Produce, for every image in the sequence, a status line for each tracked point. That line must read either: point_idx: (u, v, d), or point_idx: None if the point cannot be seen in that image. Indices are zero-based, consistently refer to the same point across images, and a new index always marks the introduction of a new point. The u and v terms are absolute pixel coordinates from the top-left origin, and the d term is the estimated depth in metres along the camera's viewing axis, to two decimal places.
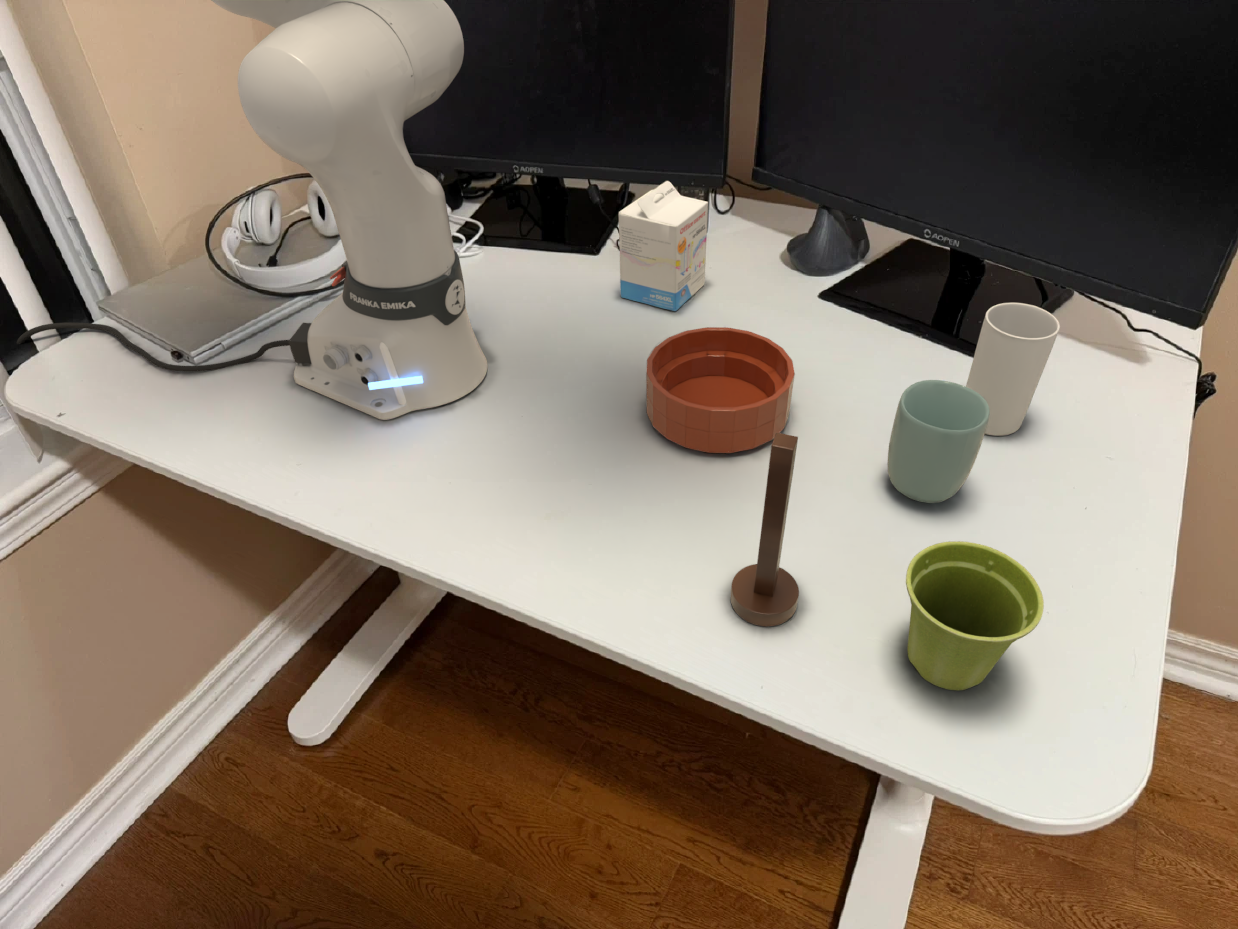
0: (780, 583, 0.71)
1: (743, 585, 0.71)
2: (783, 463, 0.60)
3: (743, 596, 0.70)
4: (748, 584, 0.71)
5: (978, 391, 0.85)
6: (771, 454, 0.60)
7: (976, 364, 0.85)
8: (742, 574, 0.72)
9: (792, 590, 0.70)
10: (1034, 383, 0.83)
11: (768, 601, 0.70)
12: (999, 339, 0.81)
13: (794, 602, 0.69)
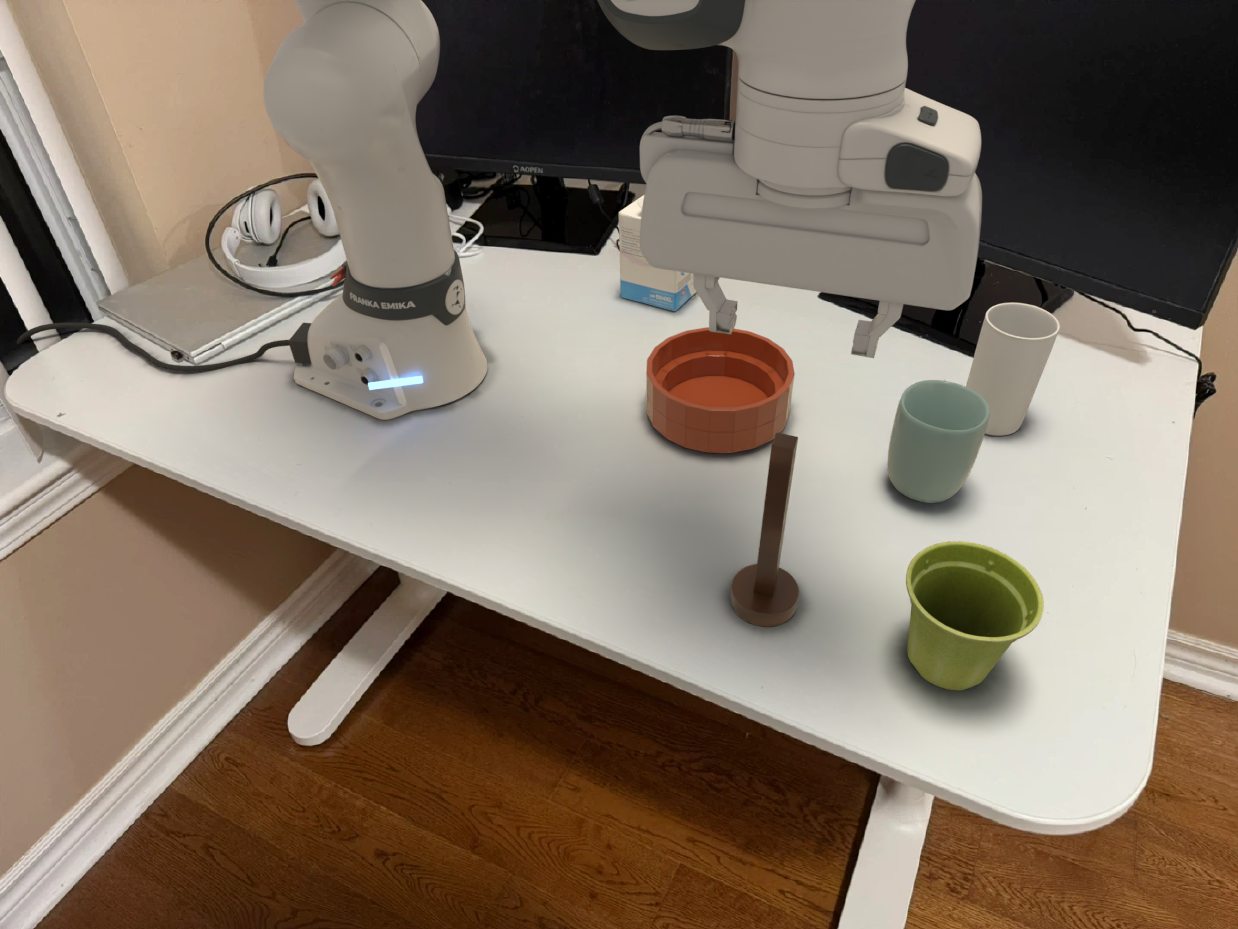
0: (780, 583, 0.71)
1: (743, 585, 0.71)
2: (783, 463, 0.60)
3: (743, 596, 0.70)
4: (748, 584, 0.71)
5: (978, 391, 0.85)
6: (771, 454, 0.60)
7: (976, 364, 0.85)
8: (742, 574, 0.72)
9: (792, 590, 0.70)
10: (1034, 383, 0.83)
11: (768, 601, 0.70)
12: (999, 339, 0.81)
13: (794, 602, 0.69)
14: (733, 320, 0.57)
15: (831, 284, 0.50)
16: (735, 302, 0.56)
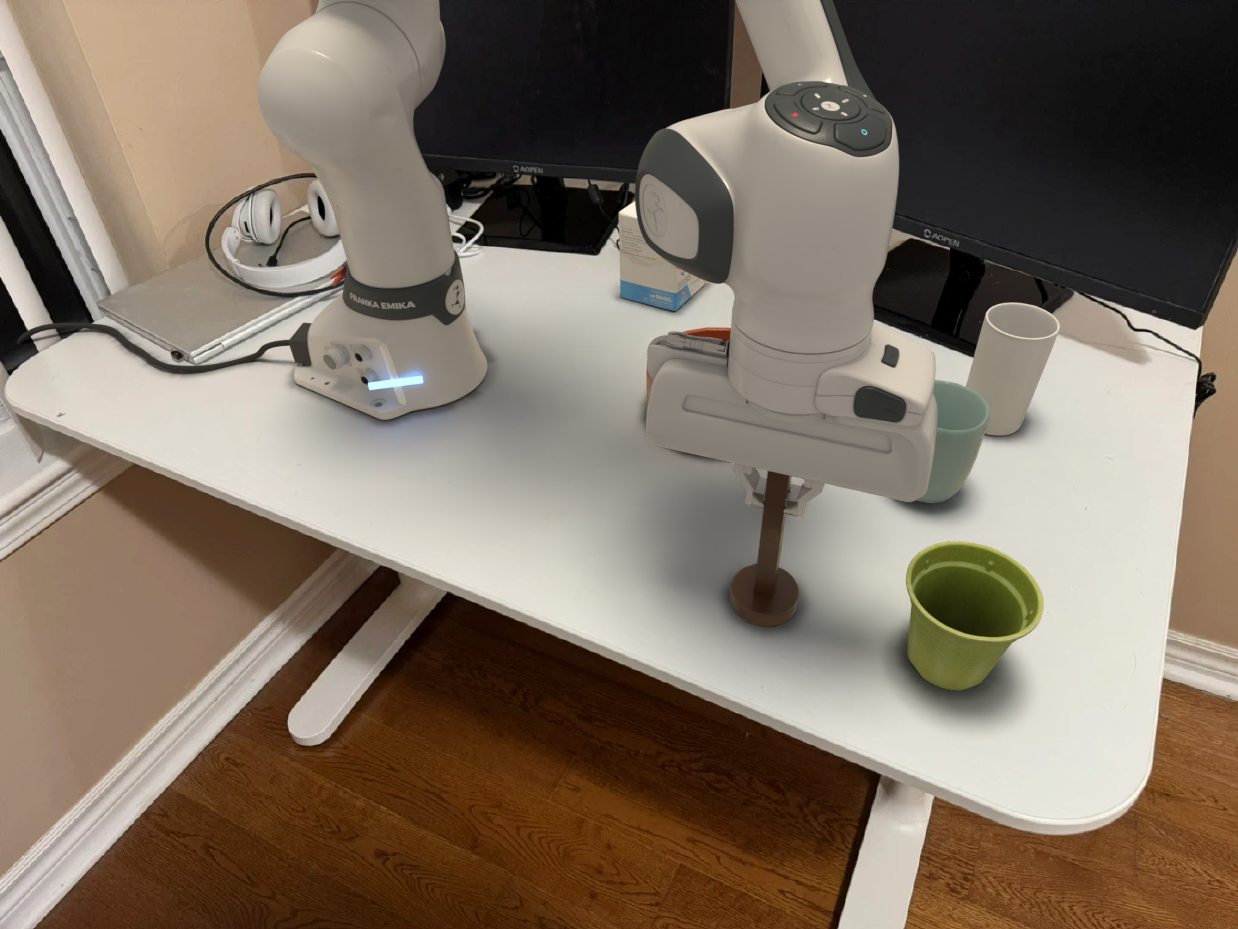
0: (780, 583, 0.71)
1: (743, 585, 0.71)
2: None
3: (743, 596, 0.70)
4: (748, 584, 0.71)
5: (978, 391, 0.85)
6: None
7: (976, 364, 0.85)
8: (742, 574, 0.72)
9: (792, 590, 0.70)
10: (1034, 383, 0.83)
11: (768, 601, 0.70)
12: (999, 339, 0.81)
13: (794, 602, 0.69)
14: None
15: (809, 474, 0.59)
16: None
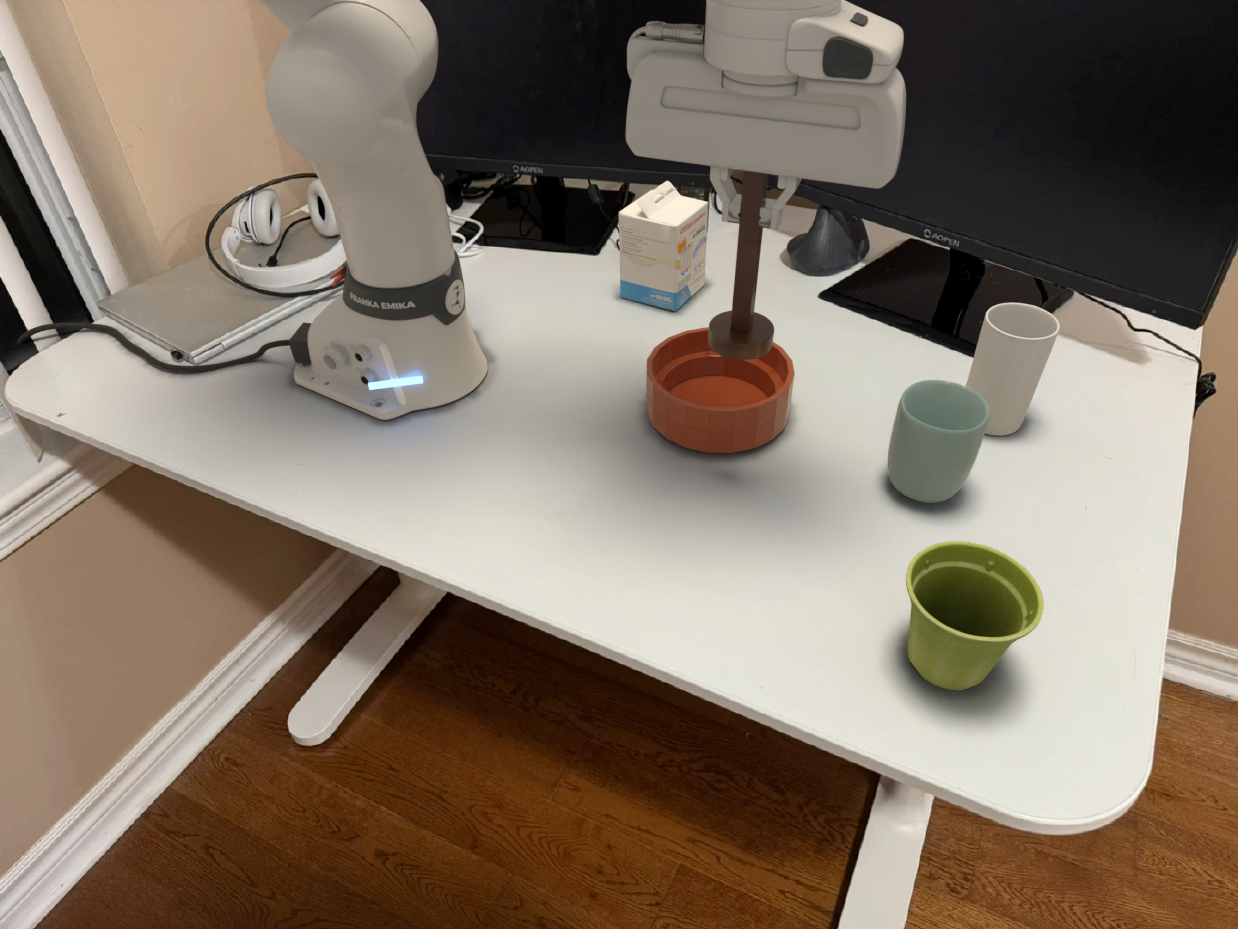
0: (756, 323, 0.73)
1: (720, 324, 0.73)
2: None
3: (720, 332, 0.72)
4: (725, 323, 0.73)
5: (978, 391, 0.85)
6: None
7: (976, 364, 0.85)
8: (720, 317, 0.74)
9: (768, 328, 0.72)
10: (1034, 383, 0.83)
11: (744, 335, 0.72)
12: (999, 339, 0.81)
13: (769, 336, 0.71)
14: None
15: (782, 167, 0.61)
16: None
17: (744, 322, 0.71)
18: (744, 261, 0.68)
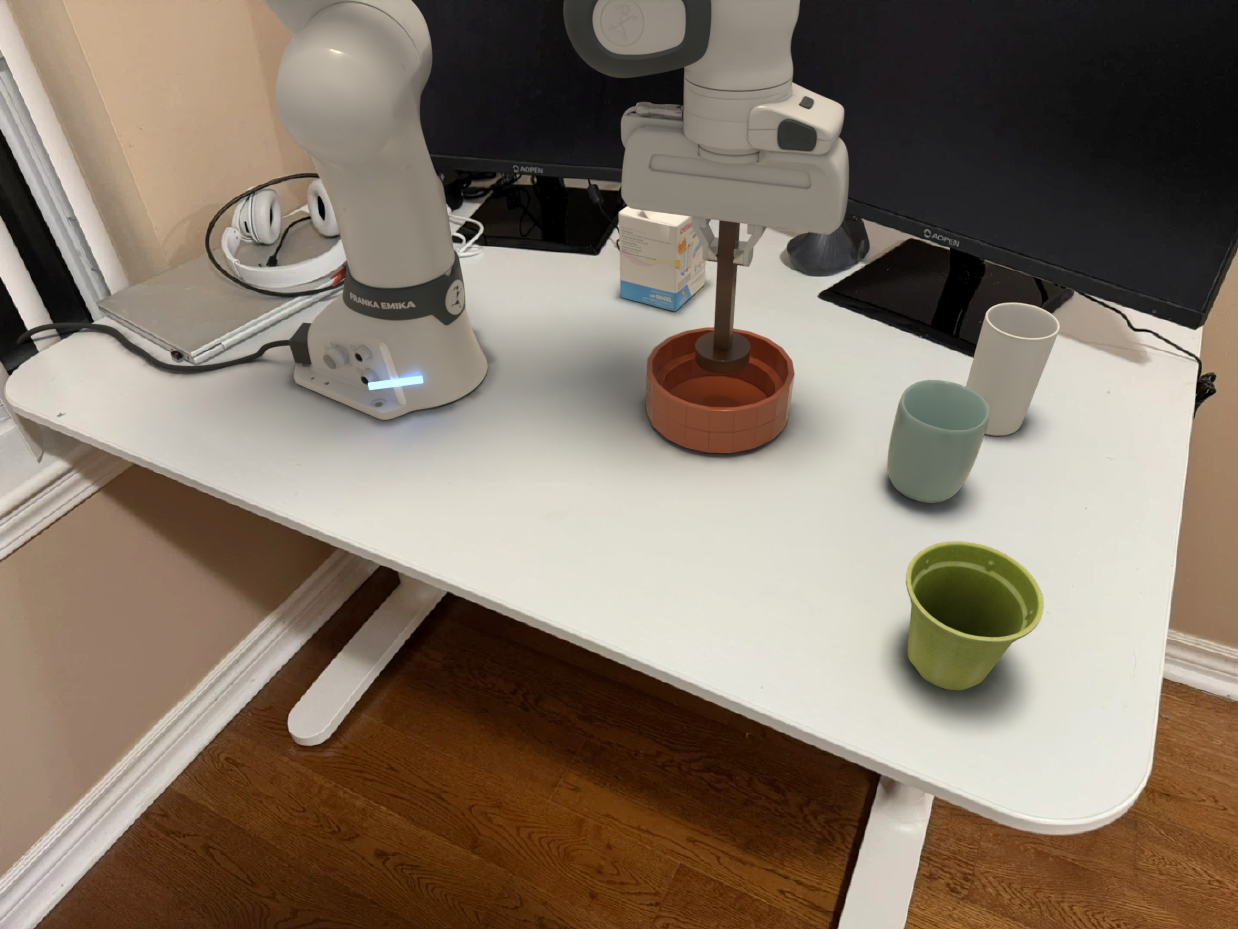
0: (735, 342, 0.86)
1: (705, 344, 0.86)
2: None
3: (704, 351, 0.85)
4: (709, 343, 0.86)
5: (978, 391, 0.85)
6: None
7: (976, 364, 0.85)
8: (704, 337, 0.87)
9: (745, 346, 0.86)
10: (1034, 383, 0.83)
11: (725, 353, 0.85)
12: (999, 339, 0.81)
13: (746, 353, 0.85)
14: None
15: (750, 217, 0.74)
16: None
17: (724, 342, 0.85)
18: (722, 292, 0.81)
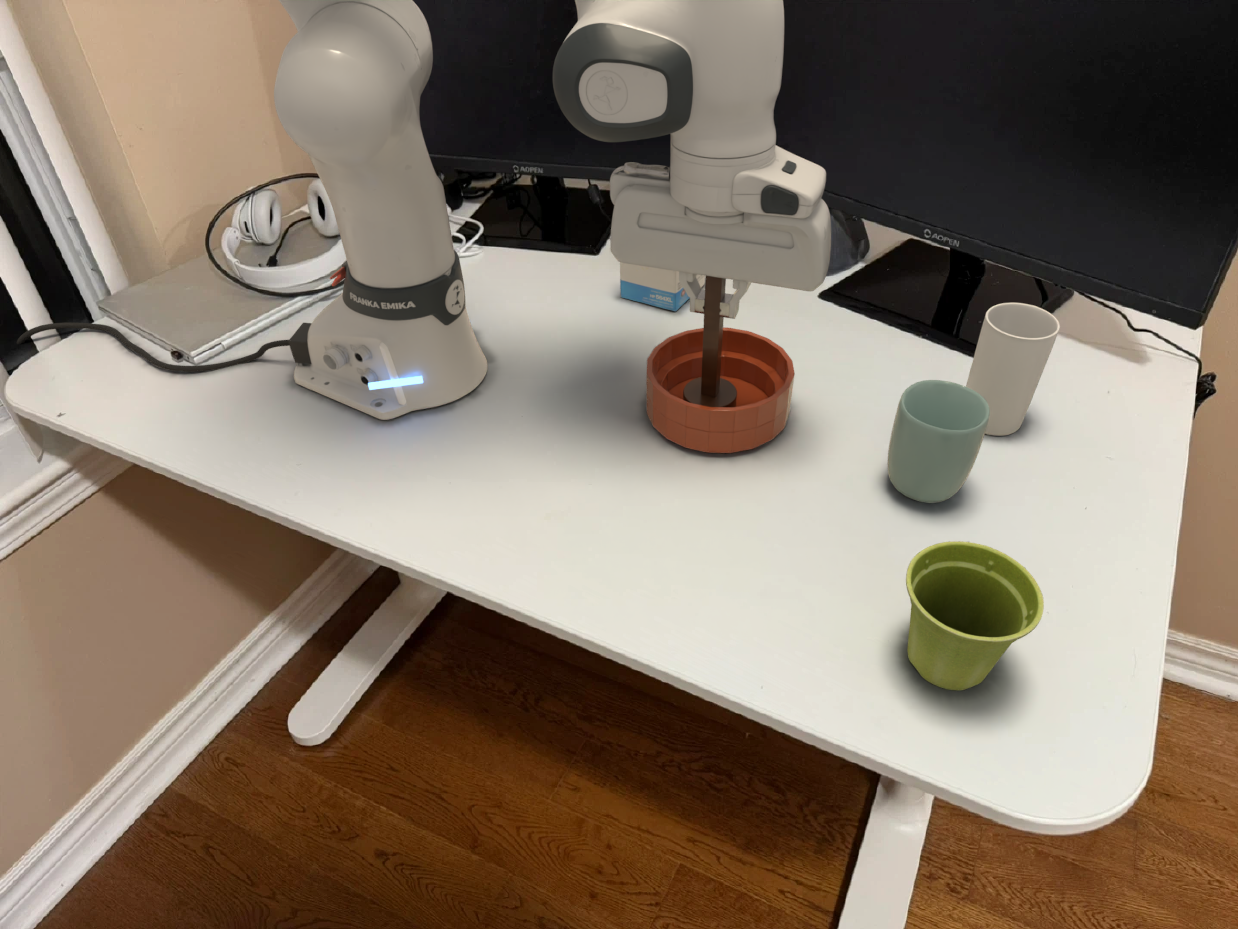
0: (722, 388, 0.88)
1: (692, 389, 0.88)
2: None
3: (692, 397, 0.87)
4: (697, 389, 0.89)
5: (978, 391, 0.85)
6: None
7: (976, 364, 0.85)
8: (692, 383, 0.89)
9: (731, 392, 0.88)
10: (1034, 383, 0.83)
11: (712, 399, 0.87)
12: (999, 339, 0.81)
13: (732, 400, 0.87)
14: None
15: (735, 274, 0.76)
16: None
17: (712, 389, 0.87)
18: (709, 342, 0.83)
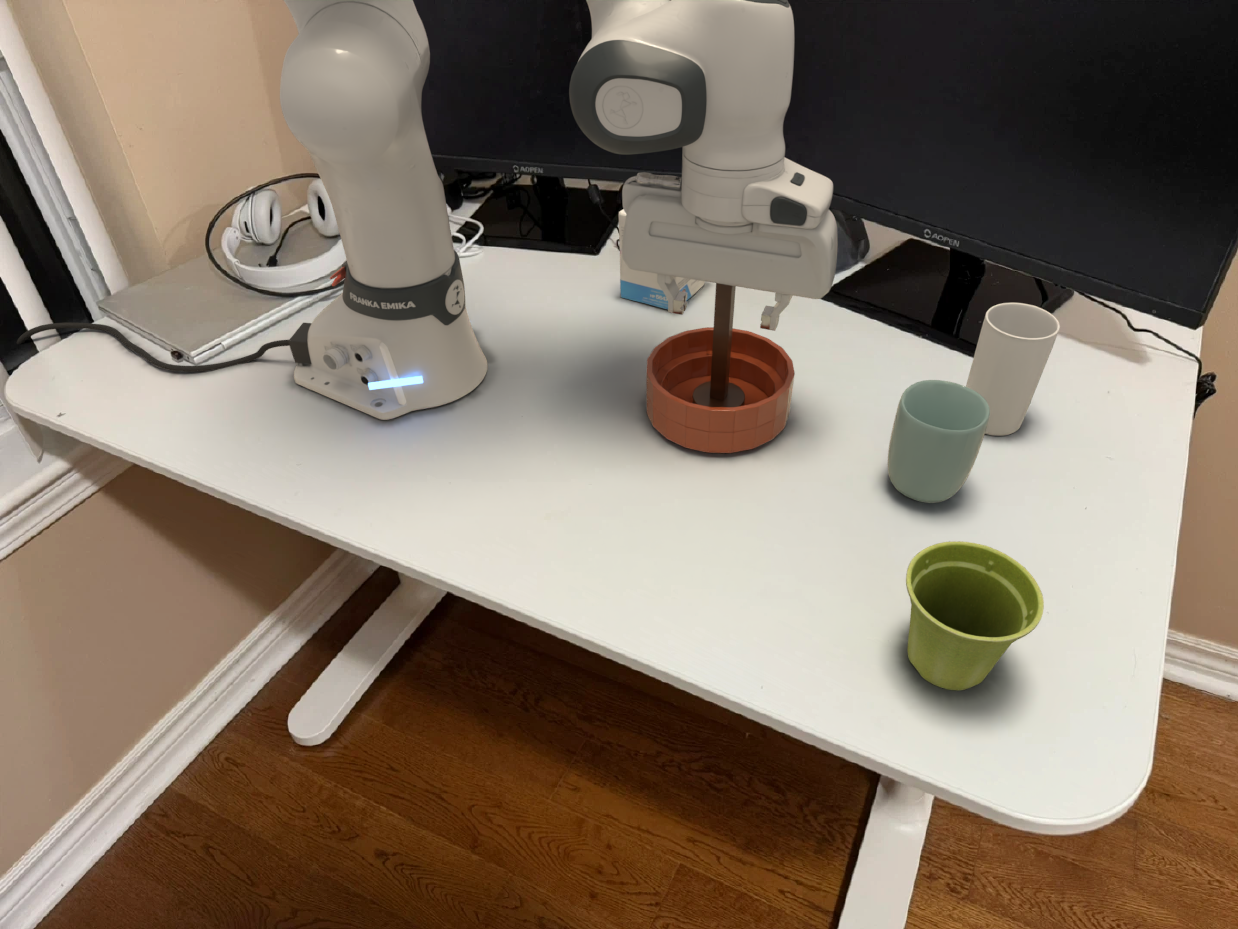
0: (731, 392, 0.91)
1: (701, 393, 0.91)
2: None
3: (701, 400, 0.90)
4: (706, 392, 0.91)
5: (978, 391, 0.85)
6: None
7: (976, 364, 0.85)
8: (701, 387, 0.91)
9: (740, 396, 0.90)
10: (1034, 383, 0.83)
11: (721, 403, 0.89)
12: (999, 339, 0.81)
13: (741, 403, 0.89)
14: (684, 305, 0.85)
15: (744, 282, 0.78)
16: (685, 293, 0.84)
17: (720, 393, 0.89)
18: (719, 347, 0.85)
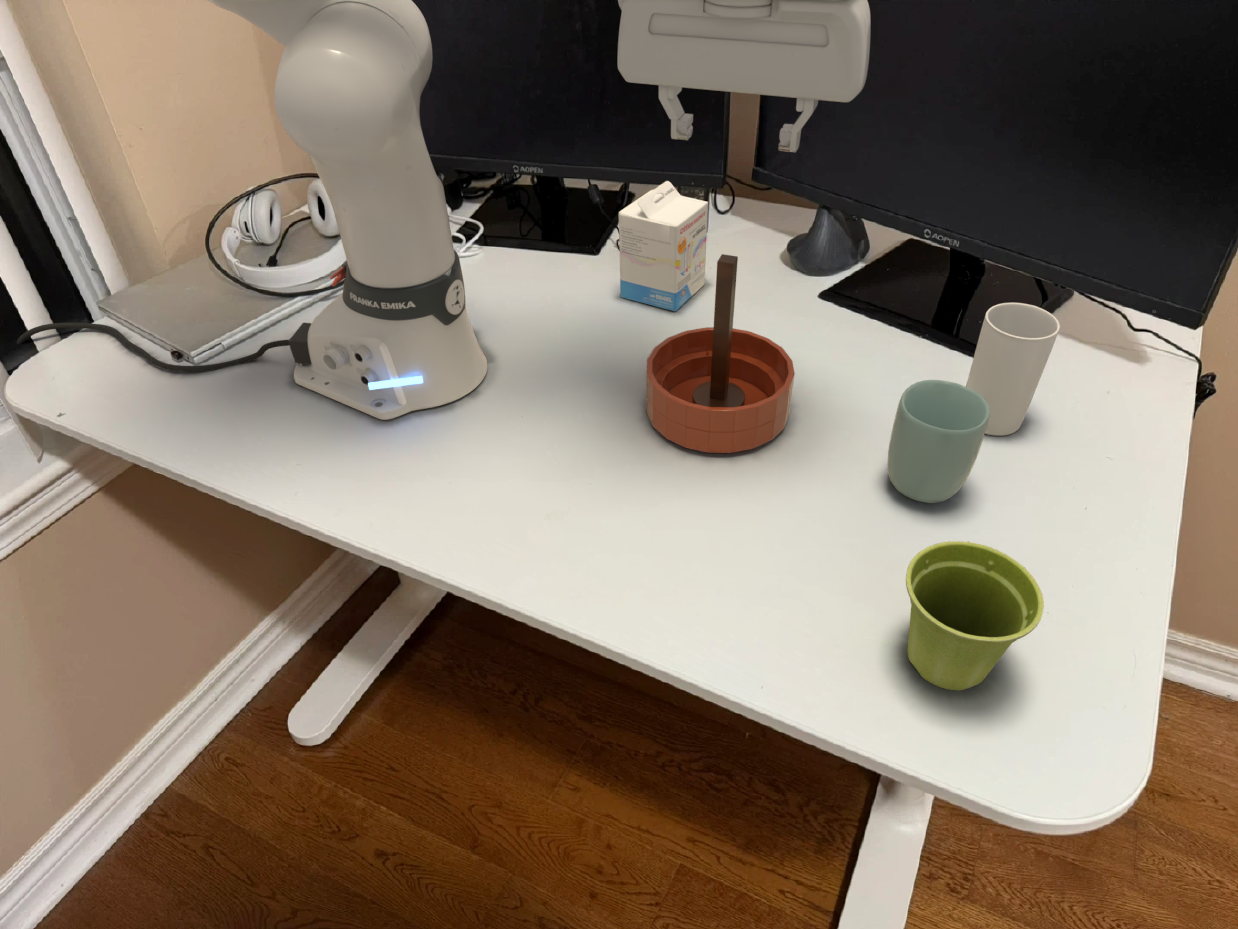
0: (731, 392, 0.91)
1: (701, 393, 0.91)
2: (726, 276, 0.80)
3: (701, 400, 0.90)
4: (706, 392, 0.91)
5: (978, 391, 0.85)
6: (717, 269, 0.80)
7: (976, 364, 0.85)
8: (701, 387, 0.91)
9: (740, 396, 0.90)
10: (1034, 383, 0.83)
11: (721, 403, 0.89)
12: (999, 339, 0.81)
13: (741, 403, 0.89)
14: (690, 129, 0.73)
15: (760, 85, 0.67)
16: (691, 114, 0.73)
17: (720, 393, 0.89)
18: (719, 347, 0.85)
